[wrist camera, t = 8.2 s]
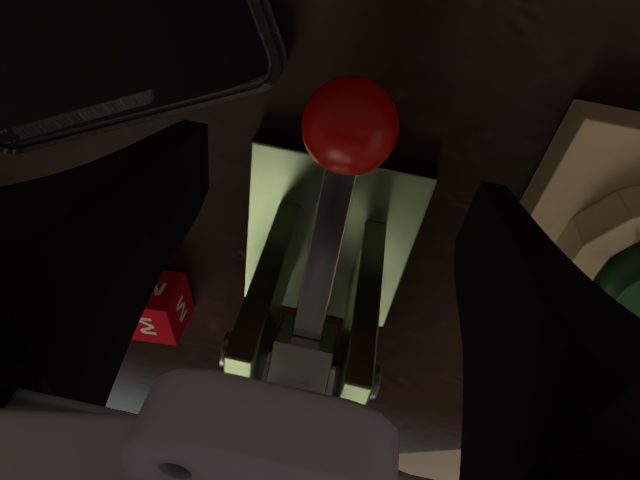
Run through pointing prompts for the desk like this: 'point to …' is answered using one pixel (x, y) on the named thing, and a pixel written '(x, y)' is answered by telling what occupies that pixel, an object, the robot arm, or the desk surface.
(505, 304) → the robot arm
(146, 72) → the phone
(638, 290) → the button
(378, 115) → the switch lever
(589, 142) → the switch plate
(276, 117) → the desk surface
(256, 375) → the switch bracket
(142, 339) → the red letter cube
